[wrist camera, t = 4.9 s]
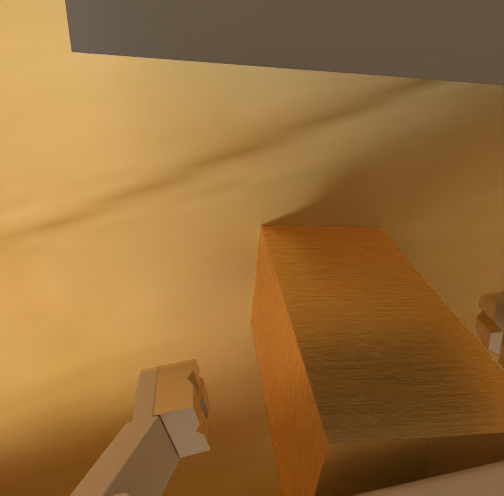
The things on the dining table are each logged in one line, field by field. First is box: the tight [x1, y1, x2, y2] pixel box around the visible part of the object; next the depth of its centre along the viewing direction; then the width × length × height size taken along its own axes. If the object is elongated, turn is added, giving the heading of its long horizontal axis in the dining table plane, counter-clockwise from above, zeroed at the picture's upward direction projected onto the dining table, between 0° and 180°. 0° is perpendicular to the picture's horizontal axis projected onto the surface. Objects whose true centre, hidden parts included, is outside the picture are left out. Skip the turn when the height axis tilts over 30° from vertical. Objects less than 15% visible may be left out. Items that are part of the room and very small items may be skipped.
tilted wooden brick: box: [251, 225, 504, 496], centre depth 11 cm, size 4×4×8 cm
